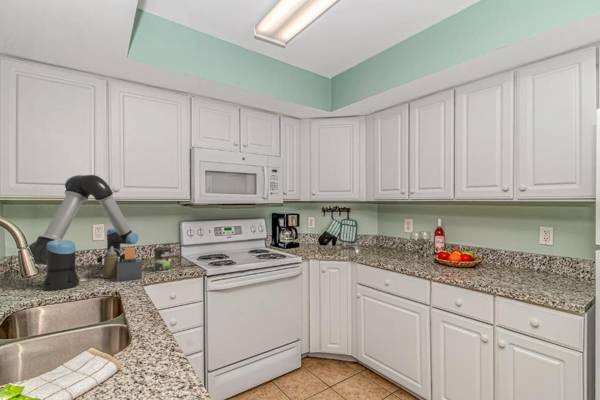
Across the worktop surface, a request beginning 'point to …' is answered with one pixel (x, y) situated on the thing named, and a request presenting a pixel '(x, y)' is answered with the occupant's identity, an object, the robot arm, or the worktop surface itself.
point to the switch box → (129, 270)
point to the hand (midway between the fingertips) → (110, 261)
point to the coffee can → (162, 259)
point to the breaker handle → (129, 254)
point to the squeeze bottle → (110, 264)
